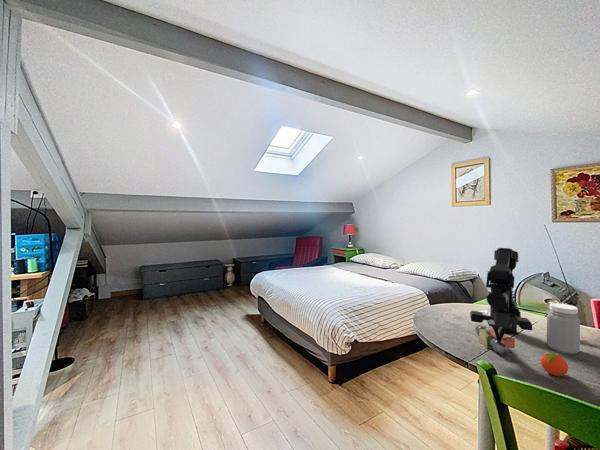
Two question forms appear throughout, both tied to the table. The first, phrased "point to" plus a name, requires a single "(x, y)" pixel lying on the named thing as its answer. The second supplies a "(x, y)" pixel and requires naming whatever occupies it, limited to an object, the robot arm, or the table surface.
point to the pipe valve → (491, 341)
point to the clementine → (554, 364)
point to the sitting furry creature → (486, 311)
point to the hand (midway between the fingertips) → (498, 341)
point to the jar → (563, 328)
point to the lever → (505, 340)
